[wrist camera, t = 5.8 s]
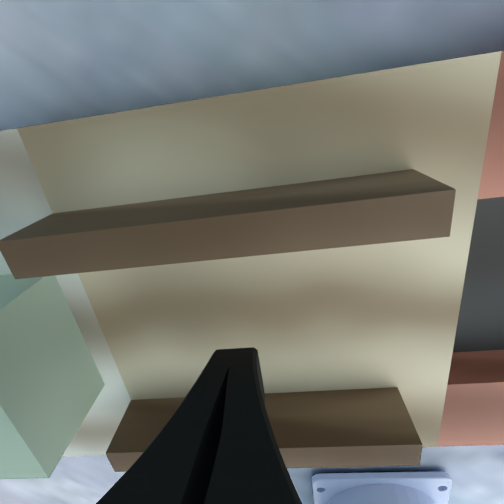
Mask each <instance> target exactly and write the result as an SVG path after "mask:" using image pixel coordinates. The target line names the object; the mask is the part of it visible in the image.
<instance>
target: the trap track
mask: <svg viewBox="0 0 504 504" xmlns="http://www.w3.org/2000/svg"><path fill="white" fill-rule="evenodd" d="M9 274H13V276H14V278H15V279H24V278H35V277H45V276H56V278H57V281H58V283H59V285H60V287H61V289H62V292H63V294H64V296H65V298H66V300H67V303H68V305H69V307H70V309H71V311H72V313H73V316H74V318H75V320H76V322H77V324H78V327H79V329H80V331H81V333H82V335H83V338H84V340H85V342H86V344H87V346H88V349H89V351H90V353H91V355H92V357H93V360H94V362H95V364H96V366H97V368H98V371H99V373H100V375H101V377H102V379H103V382H104V384H105V385H104V387H103V389H102V390H101V392H100V394H99V395H98V397H97V399H96V400H95V402H94V404H93V405H92V407H91V409H90V410H89V412H88V414H87V415H86V417H85V419H84V420H83V422H82V424H81V425H80V427H79V429H78V430H77V432H76V434H75V435H74V437H73V439H72V441H71V442H70V444H69V446H68V447H67V449H66V451H65V452H64V454H63V456H100V455H107V457H108V459H109V461H110V463H111V465H112V467H113V469H114V471H115V472H123V471H128V469H129V468H130V467H131V466H132V465H133V464H134V463H135V461H136V460H137V459H138V458H139V457H140V456H141V454H142V453H143V452H144V451H145V450H146V449H147V447H148V446H149V445H150V444H151V442H152V441H153V440H154V439H155V438H156V436H157V435H158V434H159V432H160V431H161V430H162V428H163V427H164V426H165V424H166V423H167V422H168V420H169V419H170V418H171V416H172V415H173V414H174V412H175V411H176V410H177V408H178V407H179V406H180V404H181V403H182V401H183V400H184V398H185V397H186V395H187V394H188V392H189V391H190V389H191V388H192V386H193V385H194V383H195V382H196V380H197V379H198V377H199V376H200V374H201V372H202V371H203V369H204V368H205V366H206V364H207V363H208V361H209V359H210V358H211V356H212V354H213V353H214V352H215V350H218V349H234V348H250V347H254V348H255V349H257V350H258V356H259V362H260V368H261V374H262V380H263V386H264V393H265V408H266V411H267V415H268V418H269V421H270V424H271V427H272V430H273V433H274V436H275V439H276V442H277V445H278V447H279V450H280V453H281V455H282V458H283V460H284V463H285V466H286V468H320V467H369V466H418V465H420V459H421V452H422V447H436V446H474V445H504V51H498V52H492V53H486V54H479V55H473V56H467V57H460V58H454V59H448V60H442V61H435V62H429V63H423V64H416V65H410V66H404V67H398V68H391V69H385V70H379V71H372V72H366V73H360V74H354V75H347V76H341V77H335V78H328V79H322V80H316V81H310V82H303V83H297V84H291V85H284V86H278V87H272V88H266V89H259V90H253V91H247V92H240V93H234V94H228V95H222V96H215V97H209V98H203V99H196V100H190V101H184V102H178V103H171V104H165V105H159V106H152V107H146V108H140V109H134V110H127V111H121V112H115V113H108V114H102V115H96V116H90V117H83V118H77V119H71V120H64V121H58V122H52V123H46V124H39V125H33V126H27V127H20V128H14V129H8V130H2V131H0V275H9Z"/></svg>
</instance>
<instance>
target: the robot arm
mask: <svg viewBox="0 0 504 504" xmlns="http://www.w3.org/2000/svg"><path fill="white" fill-rule="evenodd" d="M451 486H452V479H451V477H450V475H449V474H448V473H446V472H443V471H432V472H377V473H322V474H315V475H314V476H313V477H312V489H313V499H314V504H448V500H449V496H450V491H451ZM96 504H302V503H301V501H300V498H299V496H298V494H297V492H296V490H295V487H294V485H293V483H292V480H291V478H290V475H289V473H288V471H287V468H286V466H285V463H284V460H283V458H282V455H281V453H280V450H279V447H278V445H277V442H276V439H275V436H274V433H273V430H272V427H271V424H270V421H269V418H268V415H267V411H266V408H265V393H264V386H263V380H262V374H261V368H260V362H259V356H258V350H257V349H255V348H254V347H250V348H234V349H218V350H215V352H214V353H213V354H212V356H211V358H210V359H209V361H208V363H207V364H206V366H205V368H204V369H203V371H202V372H201V374H200V376H199V377H198V379H197V380H196V382H195V383H194V385H193V386H192V388H191V389H190V391H189V392H188V394H187V395H186V397H185V398H184V400H183V401H182V403H181V404H180V406H179V407H178V408H177V410H176V411H175V412H174V414H173V415H172V416H171V418H170V419H169V420H168V422H167V423H166V424H165V426H164V427H163V428H162V430H161V431H160V432H159V434H158V435H157V436H156V438H155V439H154V440H153V441H152V442H151V444H150V445H149V446H148V447H147V449H146V450H145V451H144V452H143V453H142V454H141V456H140V457H139V458H138V459H137V460H136V461H135V463H134V464H133V465H132V466H131V467H130V468H129V469H128V471H127V472H126V473H125V474H124V475H123V476H122V477H121V478H120V479H119V480H118V481H117V482H116V483H115V484H114V486H113V487H112V488H111V489H110V490H109V491H108V492H107V493H106V494H105V495H104V496H103V497H102V498H101V499H100V500H99V501H98V502H97V503H96Z"/></svg>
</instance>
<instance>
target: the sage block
mask: <svg viewBox="0 0 504 504" xmlns="http://www.w3.org/2000/svg"><path fill="white" fill-rule="evenodd" d="M104 385H105V384H104V382H103V379H102V377H101V375H100V373H99V371H98V368H97V366H96V364H95V362H94V360H93V357H92V355H91V353H90V351H89V349H88V346H87V344H86V342H85V340H84V338H83V335H82V333H81V331H80V329H79V327H78V324H77V322H76V320H75V318H74V316H73V313H72V311H71V309H70V307H69V305H68V303H67V300H66V298H65V296H64V294H63V292H62V289H61V287H60V285H59V283H58V281H57V278H56V276H45V277H35V278H24V279H15V278H14V276H13V274H9V275H0V479H27V478H49V477H50V476H51V474H52V472H53V471H54V469H55V467H56V466H57V464H58V462H59V461H60V459H61V457H62V456H63V454H64V452H65V451H66V449H67V447H68V446H69V444H70V442H71V441H72V439H73V437H74V435H75V434H76V432H77V430H78V429H79V427H80V425H81V424H82V422H83V420H84V419H85V417H86V415H87V414H88V412H89V410H90V409H91V407H92V405H93V404H94V402H95V400H96V399H97V397H98V395H99V394H100V392H101V390H102V389H103V387H104Z"/></svg>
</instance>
